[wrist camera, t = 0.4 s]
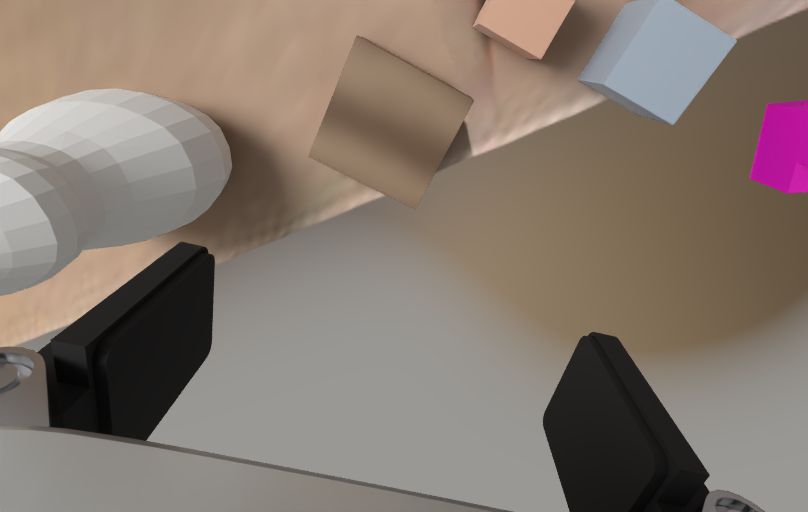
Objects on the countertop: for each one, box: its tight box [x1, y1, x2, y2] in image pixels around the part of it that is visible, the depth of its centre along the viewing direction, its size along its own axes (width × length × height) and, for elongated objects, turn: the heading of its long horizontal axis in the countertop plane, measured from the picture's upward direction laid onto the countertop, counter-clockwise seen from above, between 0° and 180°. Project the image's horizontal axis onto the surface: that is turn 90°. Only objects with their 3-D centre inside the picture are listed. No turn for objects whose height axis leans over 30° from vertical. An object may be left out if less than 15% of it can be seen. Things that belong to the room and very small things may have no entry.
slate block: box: [577, 0, 737, 125], centre depth 32 cm, size 6×6×6 cm
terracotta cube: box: [473, 0, 575, 59], centre depth 31 cm, size 5×5×5 cm
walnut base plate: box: [308, 36, 474, 209], centre depth 36 cm, size 10×10×3 cm
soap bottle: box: [0, 89, 232, 296], centre depth 26 cm, size 17×12×29 cm
